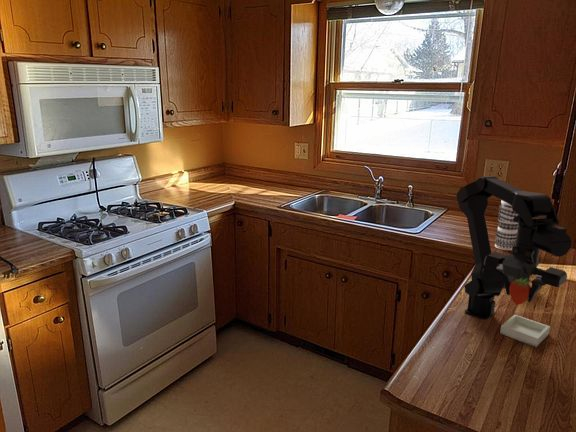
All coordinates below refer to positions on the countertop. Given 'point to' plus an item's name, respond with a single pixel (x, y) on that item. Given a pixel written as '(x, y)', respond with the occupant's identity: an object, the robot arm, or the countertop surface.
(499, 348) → the countertop surface
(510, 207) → the decorative candle
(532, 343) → the bin
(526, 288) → the fruit
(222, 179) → the countertop surface
